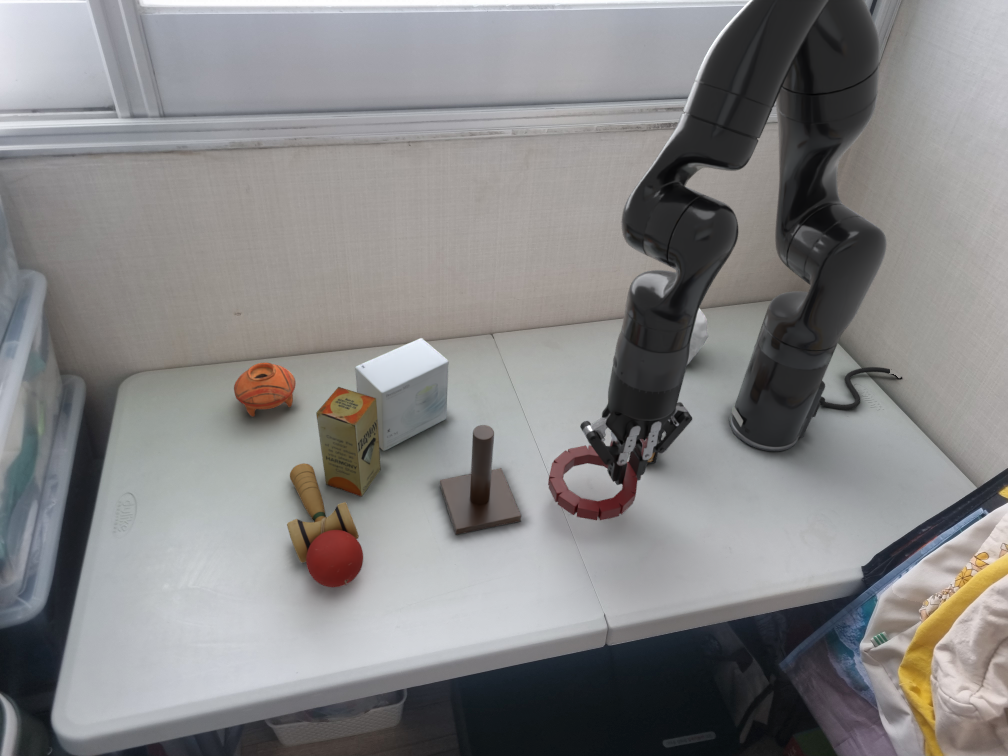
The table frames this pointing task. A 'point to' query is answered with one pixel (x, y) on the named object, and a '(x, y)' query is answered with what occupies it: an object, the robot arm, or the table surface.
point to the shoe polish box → (349, 440)
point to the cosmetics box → (405, 390)
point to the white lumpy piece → (698, 334)
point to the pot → (264, 387)
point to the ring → (587, 506)
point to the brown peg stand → (480, 490)
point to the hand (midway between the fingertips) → (625, 477)
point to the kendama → (324, 534)
